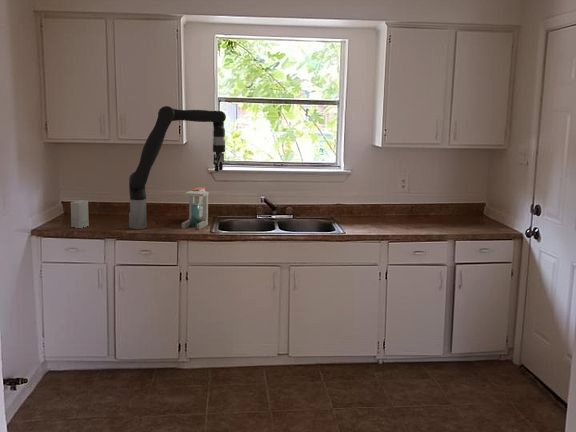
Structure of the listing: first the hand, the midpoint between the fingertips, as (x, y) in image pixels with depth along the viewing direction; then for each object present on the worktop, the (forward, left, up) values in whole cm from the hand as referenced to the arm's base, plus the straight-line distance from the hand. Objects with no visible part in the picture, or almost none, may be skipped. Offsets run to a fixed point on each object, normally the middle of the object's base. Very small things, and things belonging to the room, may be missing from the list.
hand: (218, 170), depth 357 cm
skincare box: (-56, +59, -34) cm, 88 cm away
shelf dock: (-11, +9, -34) cm, 37 cm away
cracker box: (+6, +20, -34) cm, 40 cm away
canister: (-11, +9, -34) cm, 37 cm away
